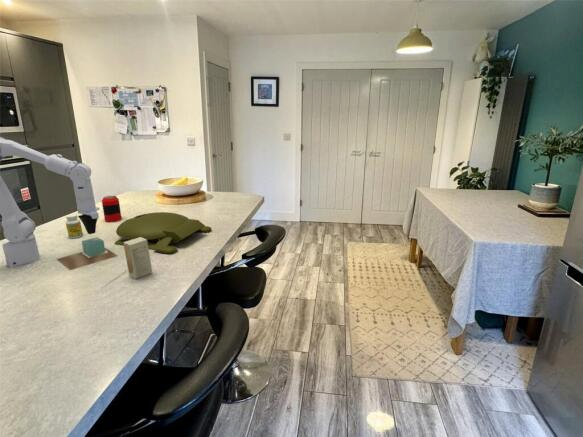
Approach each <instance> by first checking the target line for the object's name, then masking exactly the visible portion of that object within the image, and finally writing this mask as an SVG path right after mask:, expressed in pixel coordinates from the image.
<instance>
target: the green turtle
mask: <svg viewBox="0 0 583 437" xmlns="http://www.w3.org/2000/svg"><path fill="white" fill-rule="evenodd" d="M211 231H212V227H211V226H207V225H205V224H204V223H202V222H201V221H200V220H199V219H194V218H193V219H191V218H188V217H187V216H185V215H183V214H180V213H175V212H166V211H165V212H161V211H159V212H148V213H144V214H139V215H136V216H134V217H132V218H129V219H126V220H124V221H123V222H121V223H120V224H119V225H118V226H117V227H116V230H115V233H116V235H117V236H118V237H120V238H122V239H117V240H116V241H115V242H114V245H116V246H123V247H124V243H123V242H126V241H129V240H132V239H136V238H139V237H142V238H144V239H147V241H149V240H156V239H157V242H156V243H155V242H154V243H151V242H147V243H148V249H149V251H153V252H154V253H159V254H166V255H171V254H175V253H177V251H178V247H176V246H174V245H170V244H177V243H179V242H180V241H182V240H184V239H186V238H188V237H189V236H191V235H192V234H194V233H197V232H198V233H203V234H204V233H205V234H207V233H209V232H211Z"/></svg>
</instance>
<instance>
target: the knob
mask: <svg viewBox="0 0 583 437" xmlns="http://www.w3.org/2000/svg"><path fill="white" fill-rule="evenodd" d="M81 245H82V252H84V253H85V254H86V255H88V256H89V257H91V256H94V255H98V254H101V253H105V248H106V247H105V241H104V240H103V239H101V238H100V237H98V236H97V237H93V238H88V239H84V240H81Z"/></svg>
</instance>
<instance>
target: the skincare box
mask: <svg viewBox="0 0 583 437" xmlns="http://www.w3.org/2000/svg"><path fill="white" fill-rule="evenodd" d="M128 240H129V241H126V242H123V243H124V246H123V248H124V253H125V254H124V255H125V259H126V260H125V261H126V264H127V271H128V276H129V277H131V278H133V279H134V280H137V279H140V278H142V277H144V276H147V275H149V274H152V273H153V269H152V263H151V257H150V256H151V255H150V250H149V249H148V243H149V242H148V240H147V239H144V238H142V237H139V238H136V239H128Z"/></svg>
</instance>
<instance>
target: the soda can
mask: <svg viewBox="0 0 583 437" xmlns="http://www.w3.org/2000/svg"><path fill="white" fill-rule="evenodd" d="M119 200H120V199H119V198H118V196H116V195H106V196H104V197H103V198H102V199H101V205H102V212H103V216H104V218H103V219H104V221H105V222H106V223H116V222H120V221H122V213H121V212H122V211H121V205H120V201H119Z"/></svg>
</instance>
